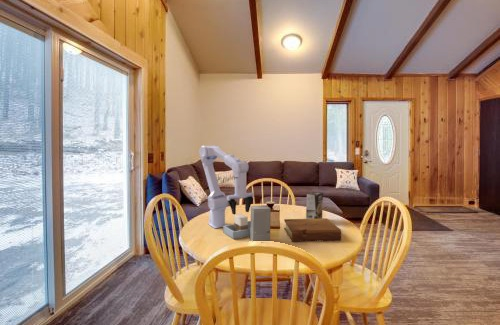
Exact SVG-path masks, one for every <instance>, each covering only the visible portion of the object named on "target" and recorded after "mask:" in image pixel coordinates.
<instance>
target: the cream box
mask: <svg viewBox="0 0 500 325" xmlns="http://www.w3.org/2000/svg"><path fill="white" fill-rule="evenodd" d="M233 215H234V214H233ZM248 220H249V219H248V216H247V215H245V214H242V213H240V214H235V215H234V223H236V224H237V225H239V226H244V225H248Z"/></svg>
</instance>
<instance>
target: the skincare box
mask: <svg viewBox="0 0 500 325" xmlns="http://www.w3.org/2000/svg"><path fill="white" fill-rule="evenodd" d="M271 212H272V211H271V207H269V206H268V205H251V206H250V221H251V226H250V236H249V238H250V240H251V241H252V242H253V241H271Z"/></svg>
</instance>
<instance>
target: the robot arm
mask: <svg viewBox="0 0 500 325" xmlns="http://www.w3.org/2000/svg"><path fill="white" fill-rule="evenodd" d="M198 154H199V157H200V161H201V162H202V163H201V164H202V167H203V170H204V174H205V177H206V182H207V186H208V188H209V191H210V194H209V195H208V196H207V206H208V209H210V210H209V214H208V218H209V219H208V220H209V221H208V223H207V225H209V226H210V227H212V228H214V229H219V228H223V226H226V225H228V224H227V223H226V209H227V208H228V205H229V207H230V210H231V214H232V215H237V211H236V208H237V203H238V201H237V200H240V199H244V204H245V206H244V208H245V211H244V212H246V213H249V212H250V210H251V206H252V203H253V202H254V197H255V193H254V192H247V173H248V171H249V168H250V166H249V163H248V162H247V161H246V160H241V159H240V158H237V157H236V156H235V155H234V154H227V153H226V152H225V151H224V150H222V149H221V147H220V146H218V145H201V147H200V148H199V152H198ZM218 158H219V159H220V160H223V161H224V164H225V166H228V167H229V168H230V169H231V170H232V174H233V177H234V194H230V195H226V193H225V192H223V191H221V188H220V185H219V182H218V177H217V175H216V171H215V168H214V162H215V161H216V160H217V159H218Z"/></svg>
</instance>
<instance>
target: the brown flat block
mask: <svg viewBox="0 0 500 325" xmlns="http://www.w3.org/2000/svg"><path fill="white" fill-rule="evenodd" d="M283 220H284V223H285V227H284V228H283V229H284V231H285V233H286V234H287V236H288V237H289V238H288V239H290V241H291V242H292V243H294V242H295V243H297V242H298V243H301V242H303V243H305V242H330V241H331V242H334V241H335V242H336V241H337V242H338V241H342V230H341V228H339V227H338V226H337V225H336V224H335V223H333V222H332V220H330V219H329V218H323V217H322V219H306V218H289V219H288V218H284V219H283Z"/></svg>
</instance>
